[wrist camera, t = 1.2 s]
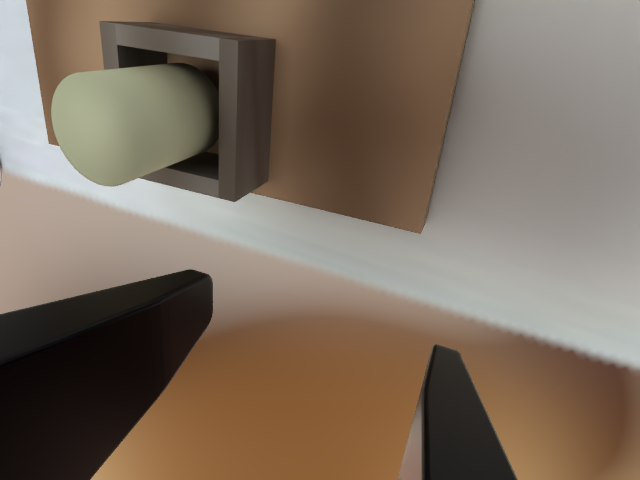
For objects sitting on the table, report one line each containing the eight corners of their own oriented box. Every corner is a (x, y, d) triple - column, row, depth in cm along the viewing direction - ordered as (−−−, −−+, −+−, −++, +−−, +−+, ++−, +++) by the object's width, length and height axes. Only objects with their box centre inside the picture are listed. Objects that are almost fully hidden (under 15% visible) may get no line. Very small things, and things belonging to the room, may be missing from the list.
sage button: (224, 69, 17) (138, 81, 13) (223, 161, 18) (145, 197, 14) (145, 56, 18) (43, 64, 14) (151, 145, 19) (60, 174, 15)
